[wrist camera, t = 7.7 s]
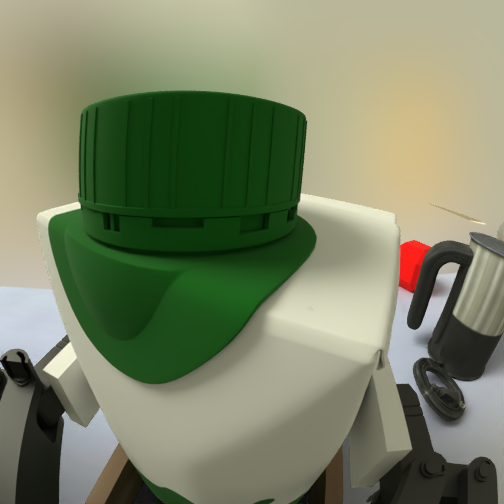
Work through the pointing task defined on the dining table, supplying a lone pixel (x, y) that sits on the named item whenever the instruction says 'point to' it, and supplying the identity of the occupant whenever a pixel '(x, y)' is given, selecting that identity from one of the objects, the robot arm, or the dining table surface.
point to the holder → (129, 480)
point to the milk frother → (460, 318)
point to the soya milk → (218, 294)
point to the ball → (411, 263)
